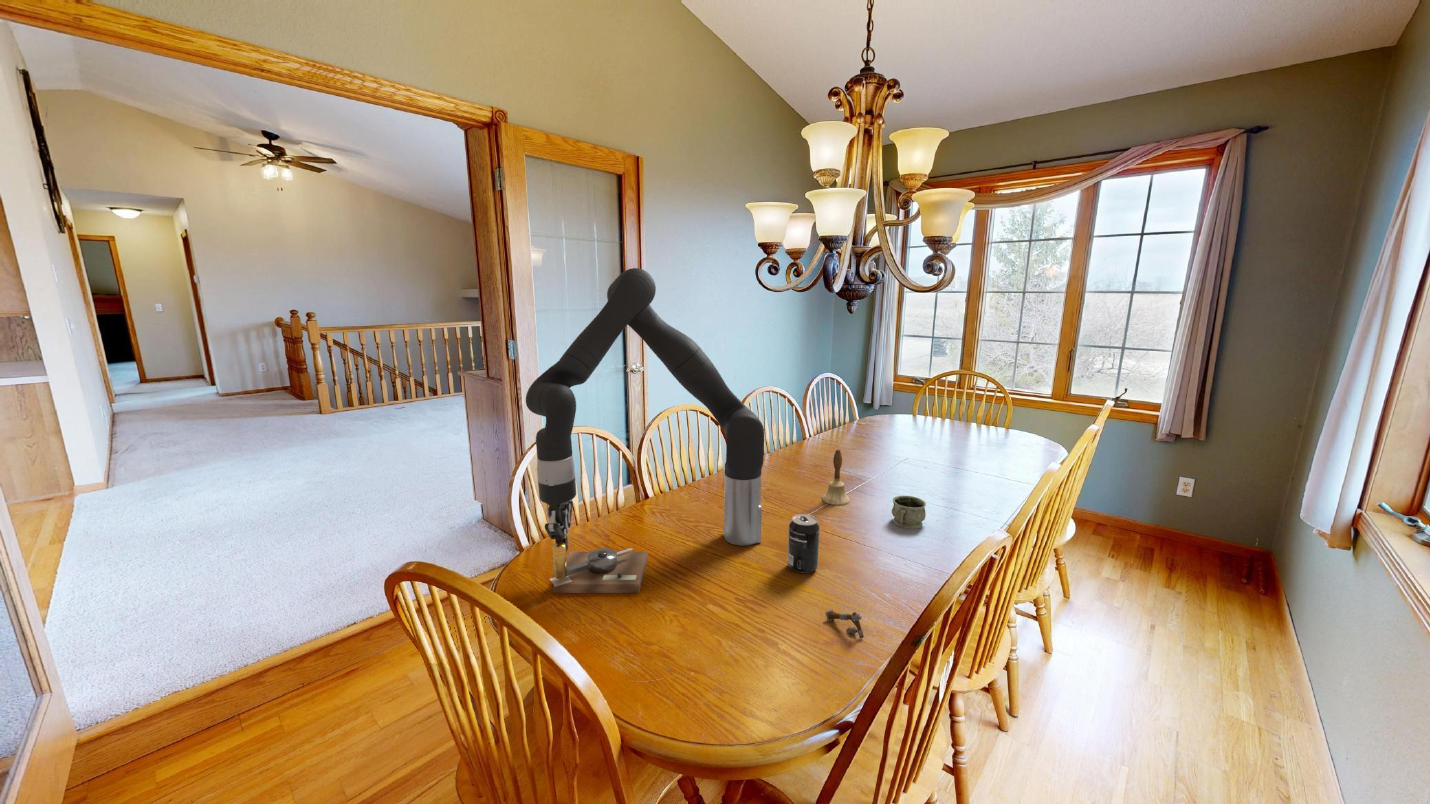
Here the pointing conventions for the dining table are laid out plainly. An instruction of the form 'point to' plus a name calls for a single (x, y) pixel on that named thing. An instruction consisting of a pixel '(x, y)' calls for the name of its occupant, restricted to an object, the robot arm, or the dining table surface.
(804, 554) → the beverage can
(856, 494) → the dining table surface
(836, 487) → the hand bell
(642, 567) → the stand
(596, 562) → the capstan
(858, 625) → the brown grey angled piece
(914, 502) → the vessel
